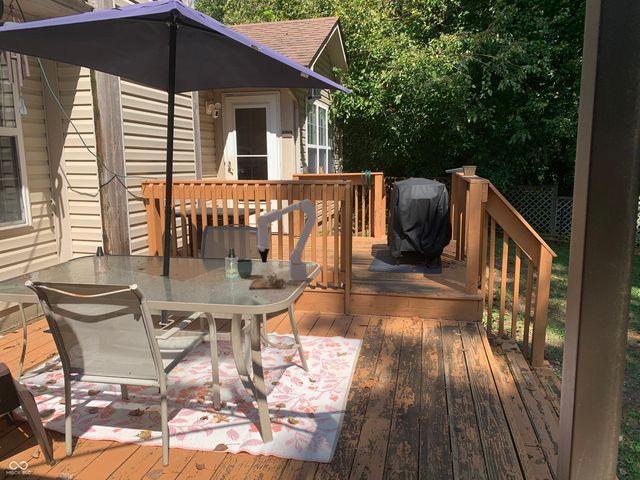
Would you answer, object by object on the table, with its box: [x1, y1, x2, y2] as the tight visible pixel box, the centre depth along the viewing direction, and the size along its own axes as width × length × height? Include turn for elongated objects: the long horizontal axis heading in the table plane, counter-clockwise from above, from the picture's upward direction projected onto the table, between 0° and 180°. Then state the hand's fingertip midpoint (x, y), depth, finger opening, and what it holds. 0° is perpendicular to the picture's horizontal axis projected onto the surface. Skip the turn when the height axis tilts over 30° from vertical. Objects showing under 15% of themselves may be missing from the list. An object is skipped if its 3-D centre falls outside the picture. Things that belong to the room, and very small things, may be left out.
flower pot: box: [235, 258, 253, 278], centre depth 282 cm, size 9×9×9 cm
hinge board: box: [248, 273, 284, 290], centre depth 260 cm, size 16×18×6 cm
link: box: [267, 272, 278, 284], centre depth 262 cm, size 12×4×4 cm, turn 178°
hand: (264, 262), depth 270 cm, fingers closed
